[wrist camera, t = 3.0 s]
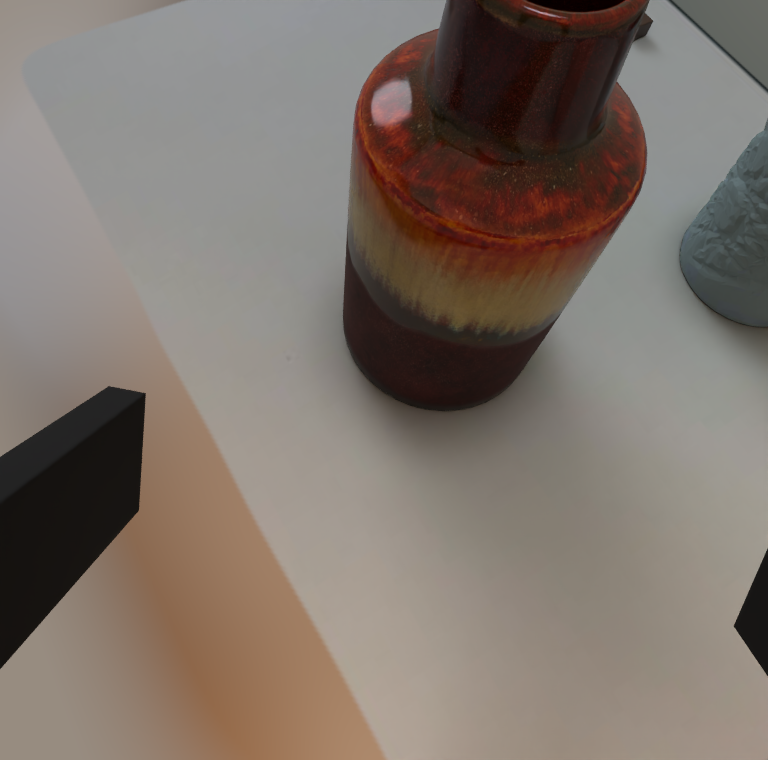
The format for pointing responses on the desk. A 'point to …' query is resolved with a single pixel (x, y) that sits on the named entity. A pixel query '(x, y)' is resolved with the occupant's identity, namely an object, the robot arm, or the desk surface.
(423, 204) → the vase
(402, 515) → the desk surface
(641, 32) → the strip
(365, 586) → the desk surface
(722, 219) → the grey-blue ceramic planter
